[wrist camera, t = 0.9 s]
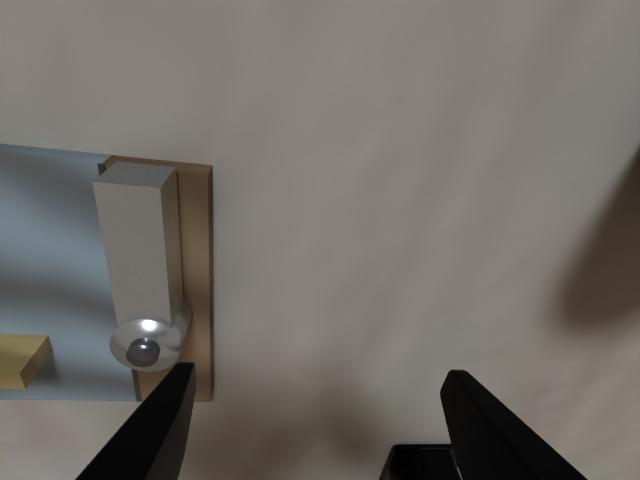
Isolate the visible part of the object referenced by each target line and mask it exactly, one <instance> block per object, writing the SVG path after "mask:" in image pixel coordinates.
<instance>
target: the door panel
mask: <svg viewBox="0 0 640 480" xmlns="http://www.w3.org/2000/svg"><path fill="white" fill-rule="evenodd" d="M117 161H120V162H130V163H140V164H150V165H160V166H170V167H176V177H177V195H178V212H179V230H180V248H181V265H182V283H183V297H184V298H185V299H186V300H187V302H188V303H189V305H190V307H191V311H192V316H191V320H190V323H189V326H188V329H187V332H186V336H185V339H184V342H183V345H182V348H181V352H180V355H179V357H178V359H177V361H176V362H175V363H174V364H173V365H172V366H170V367H168V368H166V369H164V370H160V371H154V372H145V371H138V370H134V369H131V368H129V367H126V366H125V365H123V364H121V363H120V362H119V361H117V360H116V359H115V358H114V356H113V355H112V353H111V351H110V348H109V341H110V338H111V336H112V335H113V333H114V331H115V329H116V327H117V326H118V324H117V319H116V313H115V307H114V302H113V296H112V290H111V285H110V279H109V273H108V268H107V262H106V256H105V251H104V245H103V239H102V234H101V228H100V222H99V217H98V211H97V205H96V200H95V194H94V188H93V183H92V182H93V181H94V180H95V179H96V178H98V177H99V176H100V175H101V174H102V173H104V172H105V171H106V170H107V169H109V168H110V167H111V166H112V165H113V164H115V163H116V162H117ZM178 362H193V363H195V367H196V392H195V398H194V402H211V397H212V392H213V387H214V373H213V207H212V166H211V165H202V164H192V163H182V162H172V161H162V160H153V159H143V158H133V157H123V156H114V155H104V154H94V153H84V152H75V151H65V150H55V149H45V148H35V147H26V146H16V145H6V144H0V399H6V400H95V401H137V402H142V401H144V400H145V399H146V398H147V396H148V395H149V394H150V393H151V392H152V391H153V389H154V388H155V387H156V386H157V385H158V384H159V383H160V381H161V380H162V379H163V378H164V377H165V376H166V374H167V373H168V372H169V371H170V370H171V369H172V368H173V366H174V365H175V364H176V363H178Z"/></svg>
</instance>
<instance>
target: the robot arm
mask: <svg viewBox="0 0 640 480" xmlns="http://www.w3.org/2000/svg"><path fill="white" fill-rule="evenodd" d="M195 392H196V367H195V363H193V362H178V363H176V364H175V365H174V366H173V368H172V369H171V370H170V371H169V372H168V373H167V374H166V376H165V377H164V378H163V379H162V380H161V381H160V383H159V384H158V385H157V386H156V387H155V388H154V389H153V391H152V392H151V393H150V394H149V395H148V396H147V398H146V399H145V400H144V401H143V402H142V403H141V404H140V406H139V407H138V408H137V409H136V410H135V411H134V412H133V414H132V415H131V416H130V417H129V418H128V419H127V421H126V422H125V423H124V424H123V425H122V426H121V427H120V429H119V430H118V431H117V432H116V433H115V434H114V435H113V437H112V438H111V439H110V440H109V441H108V442H107V444H106V445H105V446H104V447H103V448H102V449H101V450H100V452H99V453H98V454H97V455H96V456H95V457H94V459H93V460H92V461H91V462H90V463H89V464H88V465H87V467H86V468H85V469H84V470H83V471H82V472H81V473H80V475H79V476H78V477H77V478H76V479H75V480H177V479H178V476H179V472H180V469H181V465H182V461H183V458H184V453H185V448H186V443H187V437H188V432H189V426H190V420H191V415H192V409H193V403H194V398H195ZM440 397H441V402H442V406H443V410H444V415H445V419H446V423H447V427H448V432H449V436H450V440H451V444H452V445H397V446H395V447H394V448H393V450H392V452H391V454H390V457H389V459H388V462H387V464H386V467H385V469H384V472H383V474H382V477H381V479H380V480H461V477H462V480H587V479H586V478H585V477H584V476H583V475H582V474H581V473H580V472H579V471H577V470H576V469H575V468H574V467H573V466H572V465H571V464H570V463H569V462H567V461H566V460H565V459H564V458H563V457H562V456H561V455H560V454H558V453H557V452H556V451H555V450H554V449H553V448H552V447H551V446H550V445H548V444H547V443H546V442H545V441H544V440H543V439H542V438H541V437H540V436H538V435H537V434H536V433H535V432H534V431H533V430H532V429H531V428H530V427H528V426H527V425H526V424H525V423H524V422H523V421H522V420H521V419H519V418H518V417H517V416H516V415H515V414H514V413H513V412H512V411H511V410H509V409H508V408H507V407H506V406H505V405H504V404H503V403H502V402H501V401H499V400H498V399H497V398H496V397H495V396H494V395H493V394H492V393H491V392H489V391H488V390H487V389H486V388H485V387H484V386H483V385H482V384H481V383H479V382H478V381H477V380H476V379H475V378H474V377H473V376H472V375H470V374H469V373H468V372H467V371H465V370H451V371H449V372H448V374H447V377H446V379H445V381H444V383H443V385H442V388H441V391H440ZM457 468H459V471H460V474H461V477H460V474H459V472H458V469H457Z"/></svg>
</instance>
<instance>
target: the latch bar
mask: <svg viewBox="0 0 640 480" xmlns="http://www.w3.org/2000/svg"><path fill="white" fill-rule="evenodd" d="M92 183H93V188H94V194H95V200H96V205H97V211H98V217H99V222H100V228H101V234H102V239H103V245H104V251H105V256H106V262H107V268H108V273H109V279H110V285H111V290H112V296H113V302H114V307H115V313H116V319H117V324H118V326H117V327H116V329H115V331H114V333H113V335H112V336H111V338H110V341H109V348H110V351H111V353H112V355H113V356H114V358H115V359H116V360H117V361H119V362H120V363H121V364H123V365H125V366H126V367H129V368H131V369H134V370H138V371H145V372H154V371H160V370H164V369H166V368H168V367H170V366H172V365H173V364H174V363H175V362H176V361H177V359H178V357H179V355H180V352H181V348H182V345H183V342H184V339H185V336H186V332H187V329H188V326H189V323H190V320H191V316H192V311H191V307H190V305H189V303H188V302H187V300H186V299H185V298H184V297H183V283H182V265H181V248H180V230H179V212H178V195H177V177H176V167H170V166H160V165H150V164H140V163H130V162H120V161H117V162H116V163H115V164H113V165H112V166H111V167H110V168H109V169H107V170H106V171H105V172H104V173H102V174H101V175H100V176H99V177H98V178H96V179H95V180H94V181H93V182H92Z"/></svg>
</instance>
